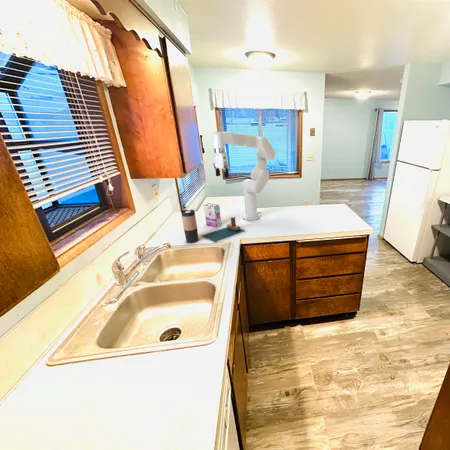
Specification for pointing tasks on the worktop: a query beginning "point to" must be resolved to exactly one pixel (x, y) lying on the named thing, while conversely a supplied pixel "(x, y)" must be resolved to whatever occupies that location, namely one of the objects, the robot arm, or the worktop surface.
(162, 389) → the worktop surface
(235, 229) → the brush
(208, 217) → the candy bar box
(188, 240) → the travel mug
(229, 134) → the robot arm
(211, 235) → the mat
